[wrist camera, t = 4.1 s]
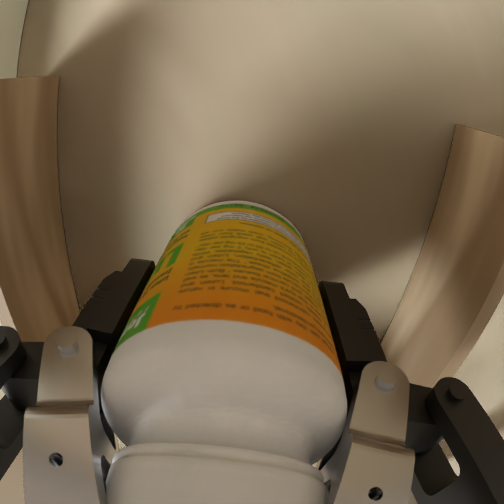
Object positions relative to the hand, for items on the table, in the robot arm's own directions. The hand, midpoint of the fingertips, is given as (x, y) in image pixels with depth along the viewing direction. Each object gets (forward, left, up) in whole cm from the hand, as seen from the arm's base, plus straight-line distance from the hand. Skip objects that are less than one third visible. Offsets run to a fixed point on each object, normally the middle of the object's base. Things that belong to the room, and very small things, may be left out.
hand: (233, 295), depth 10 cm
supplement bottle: (0, 0, -2) cm, 2 cm away
